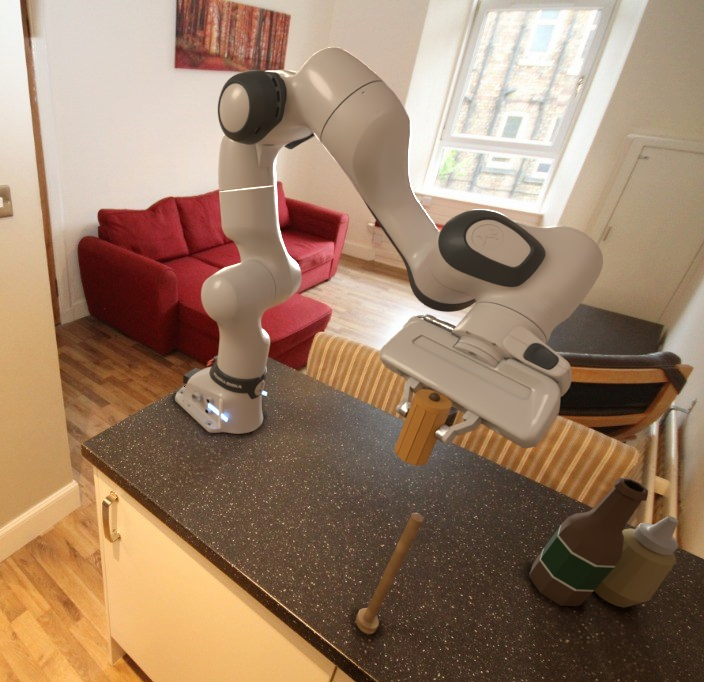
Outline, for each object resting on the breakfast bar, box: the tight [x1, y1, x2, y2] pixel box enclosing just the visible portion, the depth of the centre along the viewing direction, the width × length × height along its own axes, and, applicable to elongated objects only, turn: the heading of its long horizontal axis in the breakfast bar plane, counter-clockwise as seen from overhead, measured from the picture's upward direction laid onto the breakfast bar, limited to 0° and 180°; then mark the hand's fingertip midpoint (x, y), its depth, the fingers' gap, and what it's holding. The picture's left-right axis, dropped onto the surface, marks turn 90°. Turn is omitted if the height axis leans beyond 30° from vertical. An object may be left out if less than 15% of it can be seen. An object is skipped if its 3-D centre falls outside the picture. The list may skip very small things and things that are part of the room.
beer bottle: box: [528, 477, 649, 607], centre depth 69 cm, size 8×8×24 cm
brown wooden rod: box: [355, 512, 425, 635], centre depth 61 cm, size 3×3×24 cm
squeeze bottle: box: [593, 515, 679, 608], centre depth 71 cm, size 8×8×18 cm
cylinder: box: [393, 389, 453, 467], centre depth 56 cm, size 4×4×10 cm
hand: (420, 427), depth 56 cm, fingers closed on cylinder, 4 cm apart
